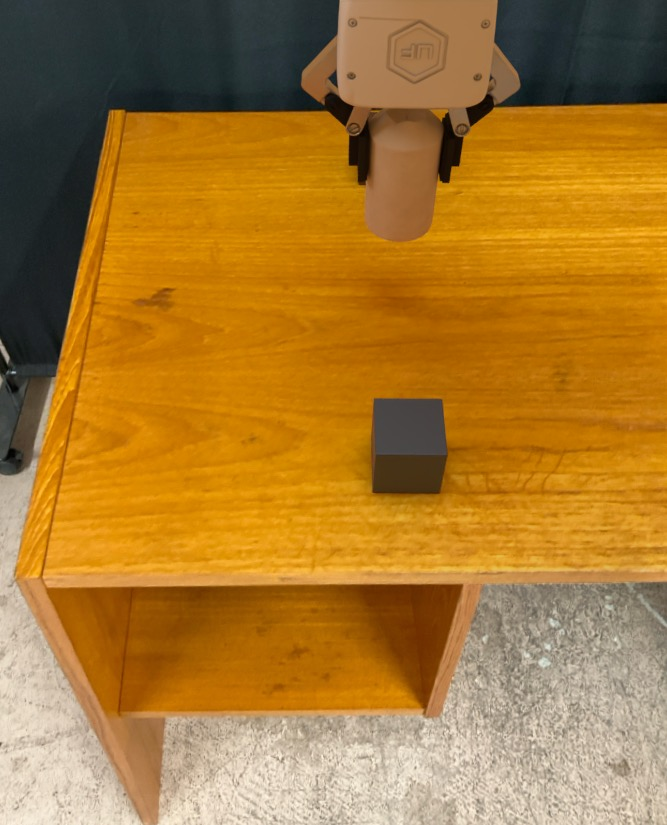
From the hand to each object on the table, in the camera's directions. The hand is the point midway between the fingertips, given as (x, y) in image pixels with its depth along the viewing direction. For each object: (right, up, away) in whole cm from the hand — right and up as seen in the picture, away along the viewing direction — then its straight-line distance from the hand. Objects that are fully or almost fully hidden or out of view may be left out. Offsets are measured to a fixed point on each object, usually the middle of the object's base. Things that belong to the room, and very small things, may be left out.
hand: (402, 169), depth 62 cm
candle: (0, -3, +4) cm, 5 cm away
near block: (0, -22, -1) cm, 22 cm away
